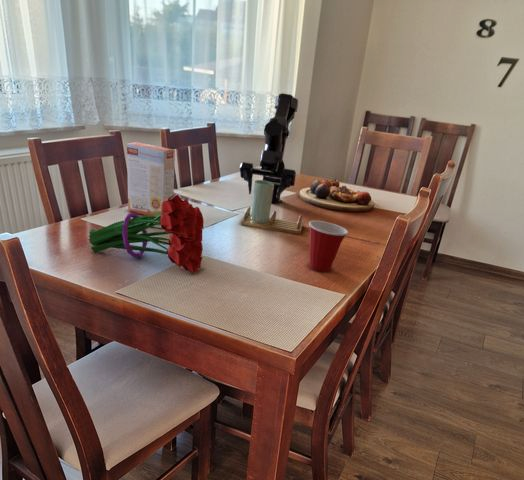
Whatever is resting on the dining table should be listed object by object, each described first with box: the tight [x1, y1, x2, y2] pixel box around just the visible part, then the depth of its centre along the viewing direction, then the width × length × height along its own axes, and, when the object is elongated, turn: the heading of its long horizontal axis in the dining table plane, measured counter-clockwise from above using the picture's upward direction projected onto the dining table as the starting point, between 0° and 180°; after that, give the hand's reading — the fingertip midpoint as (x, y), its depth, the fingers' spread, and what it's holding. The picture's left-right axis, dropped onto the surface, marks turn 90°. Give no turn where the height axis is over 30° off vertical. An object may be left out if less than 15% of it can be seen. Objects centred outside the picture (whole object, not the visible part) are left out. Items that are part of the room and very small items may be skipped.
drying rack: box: [240, 206, 304, 235], centre depth 162 cm, size 10×20×4 cm, turn 82°
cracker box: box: [126, 141, 176, 216], centre depth 151 cm, size 14×6×21 cm, turn 65°
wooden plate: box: [298, 178, 375, 213], centre depth 201 cm, size 32×32×8 cm
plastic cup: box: [308, 220, 349, 273], centre depth 131 cm, size 11×11×12 cm
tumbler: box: [250, 179, 274, 223], centre depth 159 cm, size 6×6×12 cm
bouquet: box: [88, 194, 205, 275], centre depth 120 cm, size 20×16×30 cm
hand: (263, 195), depth 160 cm, fingers open, 9 cm apart
